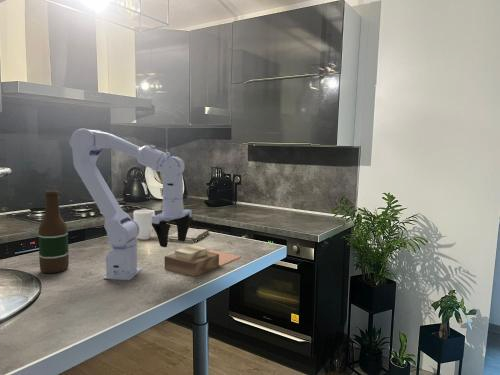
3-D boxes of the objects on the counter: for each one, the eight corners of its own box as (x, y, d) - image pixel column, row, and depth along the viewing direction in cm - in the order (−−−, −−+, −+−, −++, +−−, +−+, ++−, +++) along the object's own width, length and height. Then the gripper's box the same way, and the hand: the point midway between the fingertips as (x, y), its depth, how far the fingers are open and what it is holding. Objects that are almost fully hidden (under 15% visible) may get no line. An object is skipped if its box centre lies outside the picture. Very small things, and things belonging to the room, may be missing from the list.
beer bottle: (74, 266, 113) (72, 190, 111) (55, 274, 106) (52, 192, 103) (54, 263, 115) (51, 188, 113) (33, 271, 108) (30, 191, 105)
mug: (130, 240, 146) (129, 212, 145) (139, 235, 154) (138, 208, 153) (158, 242, 144) (158, 213, 143) (166, 237, 153) (166, 210, 151)
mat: (220, 266, 117) (220, 265, 117) (189, 259, 124) (189, 257, 123) (241, 257, 127) (241, 256, 127) (211, 251, 134) (211, 250, 134)
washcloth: (165, 242, 145) (165, 235, 145) (184, 233, 163) (184, 226, 162) (193, 245, 143) (193, 237, 142) (209, 235, 160) (209, 228, 160)
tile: (189, 260, 109) (189, 254, 109) (175, 257, 112) (175, 250, 112) (206, 254, 116) (206, 248, 116) (192, 251, 119) (192, 245, 119)
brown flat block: (194, 277, 107) (194, 263, 106) (164, 268, 113) (164, 256, 113) (218, 266, 117) (219, 254, 116) (190, 259, 123) (190, 247, 123)
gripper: (164, 202, 97) (165, 251, 99) (199, 196, 110) (199, 240, 111) (146, 199, 101) (146, 247, 102) (181, 194, 113) (181, 237, 115)
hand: (172, 243), depth 107 cm, fingers open, 7 cm apart
